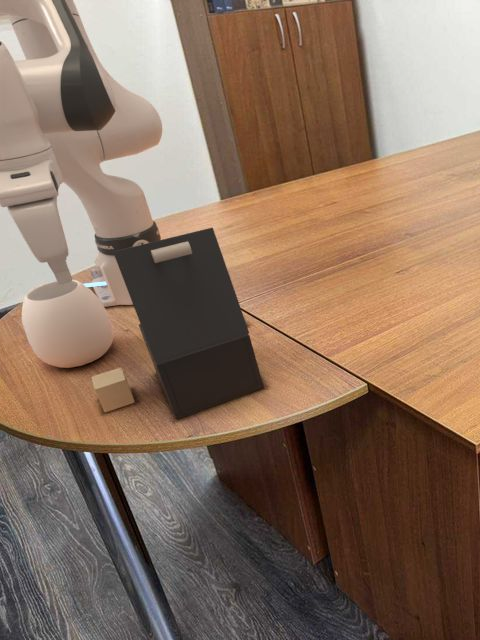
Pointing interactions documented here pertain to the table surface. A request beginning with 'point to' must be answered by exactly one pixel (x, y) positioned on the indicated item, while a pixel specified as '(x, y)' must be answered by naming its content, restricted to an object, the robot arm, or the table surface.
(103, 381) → the block
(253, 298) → the table surface
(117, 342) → the table surface
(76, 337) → the cream round vase
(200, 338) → the lid
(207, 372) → the dark grey box
